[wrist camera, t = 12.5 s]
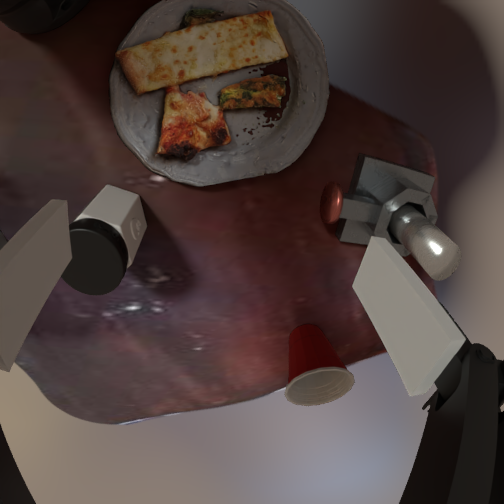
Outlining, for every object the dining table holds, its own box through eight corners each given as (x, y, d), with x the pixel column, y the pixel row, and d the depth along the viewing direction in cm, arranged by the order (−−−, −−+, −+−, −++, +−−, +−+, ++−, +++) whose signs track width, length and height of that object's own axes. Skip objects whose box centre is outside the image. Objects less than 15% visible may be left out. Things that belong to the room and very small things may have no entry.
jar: (152, 240, 42) (135, 295, 32) (100, 248, 42) (71, 302, 31) (137, 177, 37) (108, 217, 27) (81, 190, 37) (40, 231, 27)
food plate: (137, 197, 38) (131, 207, 35) (98, 23, 27) (88, 19, 24) (330, 160, 39) (340, 167, 36) (306, -14, 28) (315, -21, 24)
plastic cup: (260, 344, 54) (270, 401, 44) (302, 303, 50) (321, 360, 40) (305, 363, 58) (319, 414, 48) (345, 327, 54) (368, 379, 44)
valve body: (328, 145, 38) (349, 159, 32) (427, 173, 41) (455, 190, 35) (306, 230, 44) (320, 256, 38) (401, 244, 46) (423, 268, 40)
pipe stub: (381, 190, 39) (439, 242, 27) (406, 196, 40) (467, 247, 28) (371, 220, 41) (422, 279, 29) (396, 224, 42) (450, 281, 30)
